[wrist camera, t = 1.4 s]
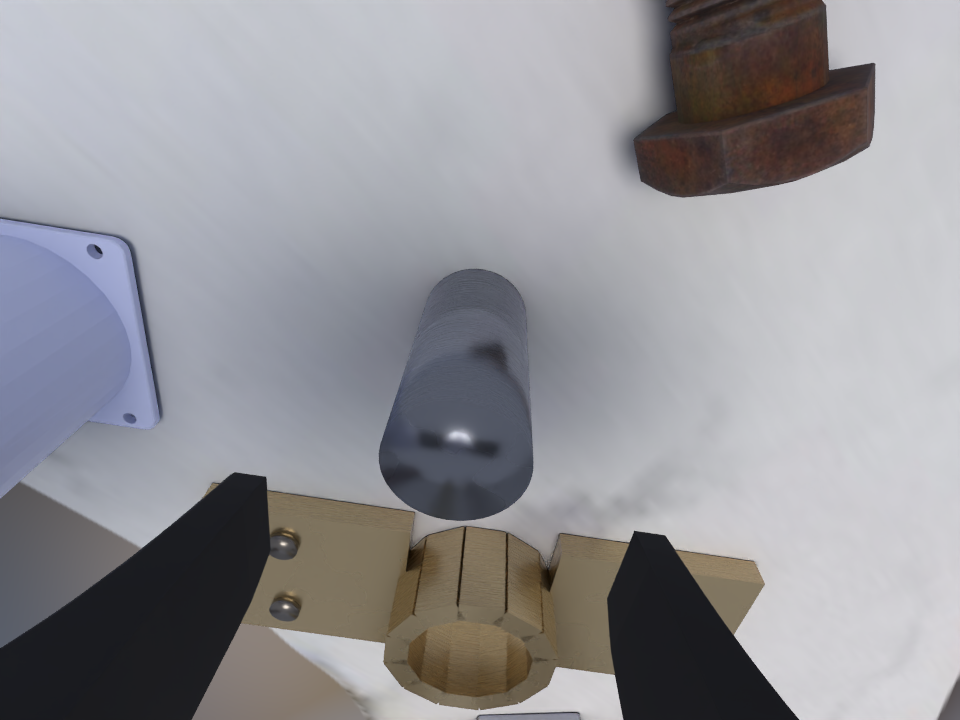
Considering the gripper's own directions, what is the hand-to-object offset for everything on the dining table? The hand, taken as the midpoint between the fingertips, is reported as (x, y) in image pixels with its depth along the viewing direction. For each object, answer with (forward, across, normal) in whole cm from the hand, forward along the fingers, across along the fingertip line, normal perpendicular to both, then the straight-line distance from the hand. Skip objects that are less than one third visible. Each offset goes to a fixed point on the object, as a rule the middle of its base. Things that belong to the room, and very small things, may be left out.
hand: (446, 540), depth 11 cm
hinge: (+10, -2, +14) cm, 17 cm away
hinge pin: (+10, 0, 0) cm, 10 cm away
